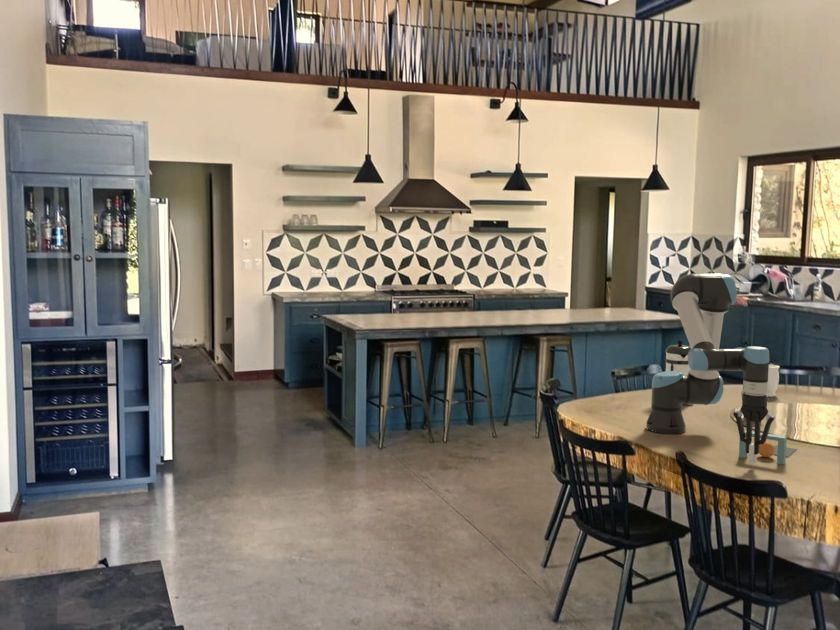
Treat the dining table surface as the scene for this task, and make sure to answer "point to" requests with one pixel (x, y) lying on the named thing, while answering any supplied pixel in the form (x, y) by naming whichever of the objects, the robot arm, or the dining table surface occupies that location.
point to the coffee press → (678, 358)
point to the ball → (766, 449)
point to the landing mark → (788, 451)
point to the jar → (772, 380)
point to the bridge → (781, 439)
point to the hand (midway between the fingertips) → (751, 463)
